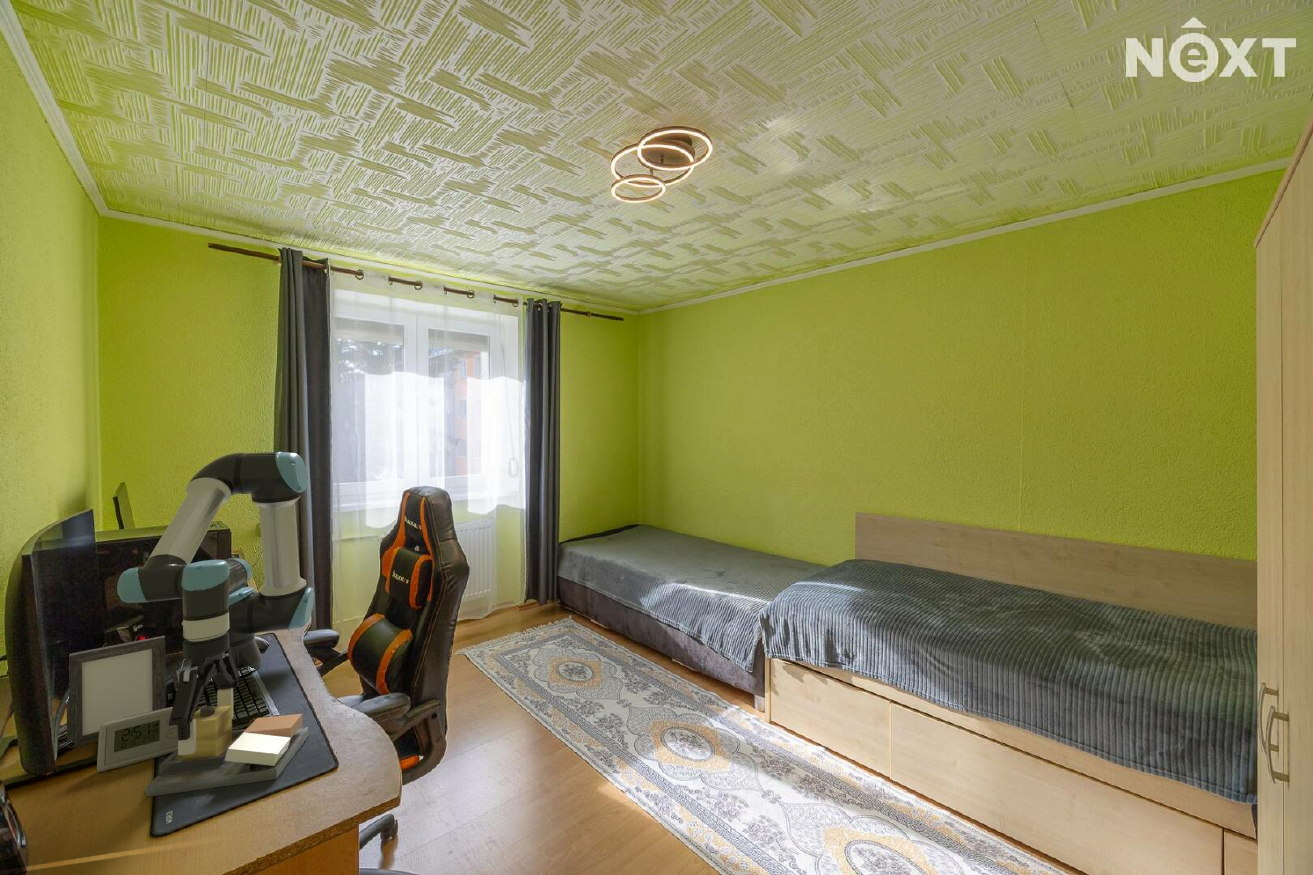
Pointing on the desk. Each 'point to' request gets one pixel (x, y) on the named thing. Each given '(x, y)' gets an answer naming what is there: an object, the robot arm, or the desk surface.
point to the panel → (218, 769)
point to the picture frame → (114, 686)
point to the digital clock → (136, 739)
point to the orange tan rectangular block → (276, 725)
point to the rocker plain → (257, 749)
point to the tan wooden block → (212, 731)
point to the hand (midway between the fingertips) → (207, 735)
